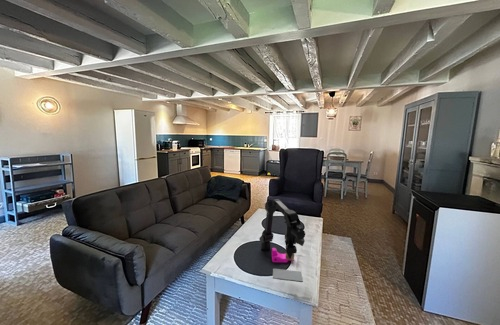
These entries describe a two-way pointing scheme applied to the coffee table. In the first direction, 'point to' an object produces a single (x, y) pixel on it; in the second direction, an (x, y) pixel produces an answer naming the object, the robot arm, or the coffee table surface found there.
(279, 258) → the toy block
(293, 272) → the pad
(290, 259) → the walnut block
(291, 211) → the robot arm
